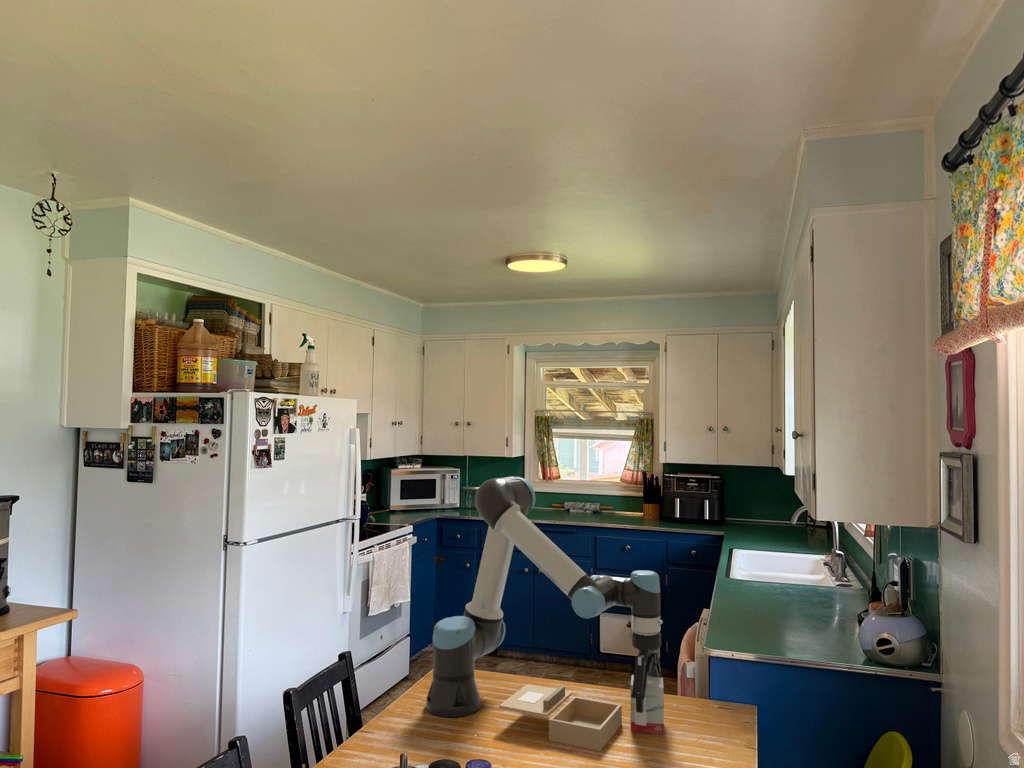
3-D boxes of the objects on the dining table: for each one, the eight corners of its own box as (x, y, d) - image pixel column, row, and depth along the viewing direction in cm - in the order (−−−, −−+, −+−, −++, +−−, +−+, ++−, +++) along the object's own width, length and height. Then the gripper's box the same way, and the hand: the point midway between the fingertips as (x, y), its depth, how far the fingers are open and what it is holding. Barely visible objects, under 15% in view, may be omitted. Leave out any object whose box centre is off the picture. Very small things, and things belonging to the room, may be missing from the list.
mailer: (548, 740, 173) (548, 719, 173) (574, 715, 188) (574, 696, 189) (600, 751, 167) (600, 729, 167) (621, 724, 182) (621, 704, 183)
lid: (499, 708, 179) (499, 696, 180) (527, 686, 195) (527, 675, 195) (546, 717, 173) (546, 705, 174) (572, 694, 189) (571, 683, 189)
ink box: (664, 735, 176) (663, 687, 177) (630, 732, 178) (629, 684, 179) (663, 721, 185) (663, 675, 186) (631, 718, 186) (630, 673, 187)
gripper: (647, 646, 170) (649, 735, 169) (671, 622, 193) (673, 701, 191) (618, 642, 174) (619, 730, 172) (645, 619, 196) (646, 696, 194)
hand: (647, 715), depth 181 cm, fingers open, 13 cm apart
